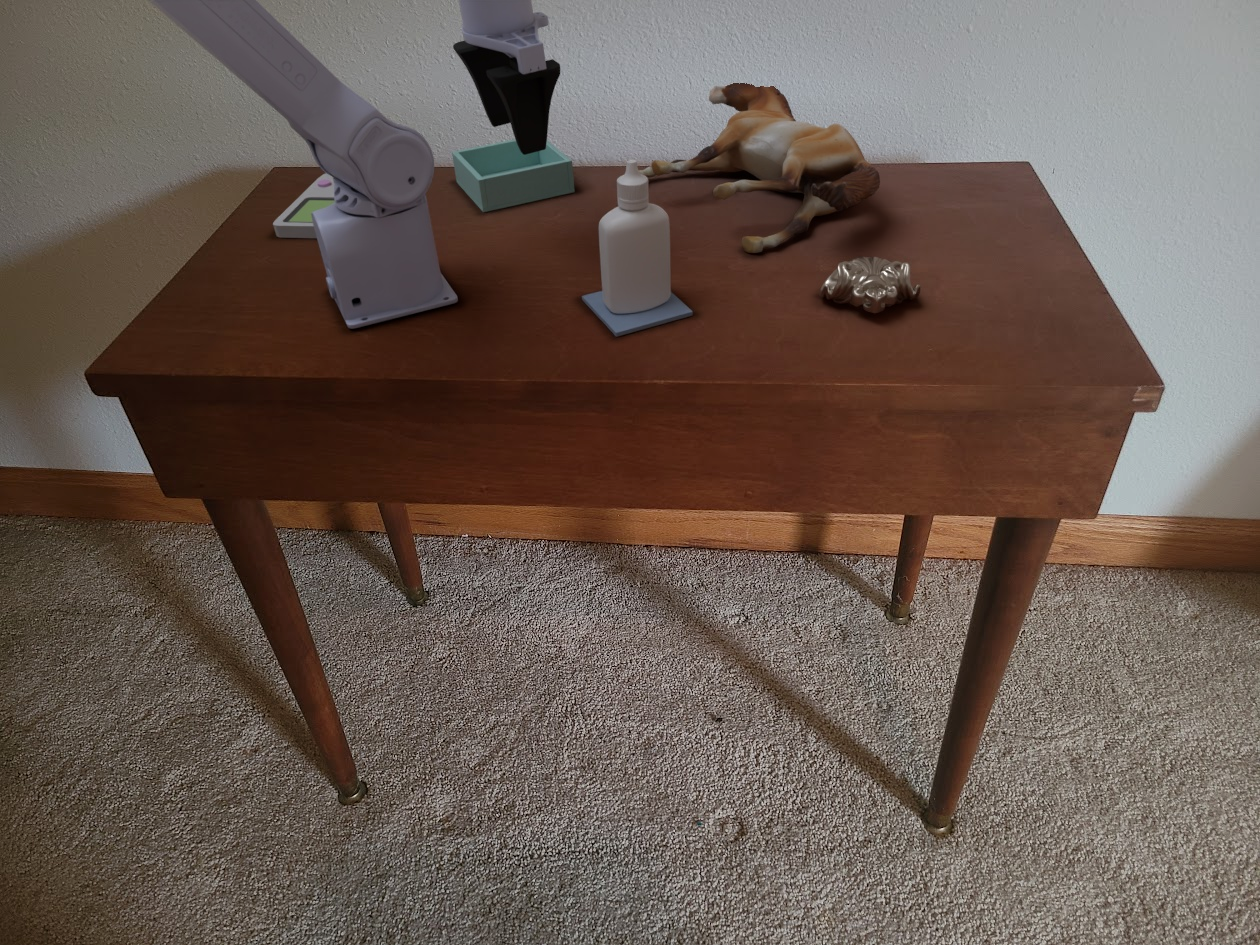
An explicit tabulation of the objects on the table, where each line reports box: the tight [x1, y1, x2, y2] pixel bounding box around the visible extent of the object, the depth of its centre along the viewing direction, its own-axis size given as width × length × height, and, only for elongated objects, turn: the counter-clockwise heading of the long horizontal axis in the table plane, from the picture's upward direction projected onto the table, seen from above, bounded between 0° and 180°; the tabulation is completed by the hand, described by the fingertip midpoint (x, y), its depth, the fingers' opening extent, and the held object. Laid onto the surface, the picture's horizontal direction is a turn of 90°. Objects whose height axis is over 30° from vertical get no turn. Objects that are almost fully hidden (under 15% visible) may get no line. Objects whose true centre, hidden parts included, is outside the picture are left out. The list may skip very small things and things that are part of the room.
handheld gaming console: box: [272, 172, 335, 239], centre depth 94 cm, size 10×2×15 cm
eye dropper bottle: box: [598, 159, 672, 314], centre depth 72 cm, size 4×6×12 cm
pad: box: [581, 290, 694, 338], centre depth 76 cm, size 7×7×1 cm
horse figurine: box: [638, 83, 881, 254], centre depth 90 cm, size 31×8×21 cm
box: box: [451, 138, 576, 213], centre depth 96 cm, size 10×9×3 cm
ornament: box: [818, 256, 921, 314], centre depth 74 cm, size 8×7×4 cm
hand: (517, 136), depth 79 cm, fingers open, 7 cm apart
